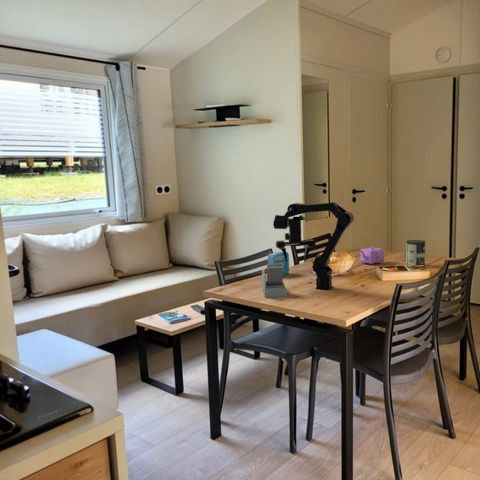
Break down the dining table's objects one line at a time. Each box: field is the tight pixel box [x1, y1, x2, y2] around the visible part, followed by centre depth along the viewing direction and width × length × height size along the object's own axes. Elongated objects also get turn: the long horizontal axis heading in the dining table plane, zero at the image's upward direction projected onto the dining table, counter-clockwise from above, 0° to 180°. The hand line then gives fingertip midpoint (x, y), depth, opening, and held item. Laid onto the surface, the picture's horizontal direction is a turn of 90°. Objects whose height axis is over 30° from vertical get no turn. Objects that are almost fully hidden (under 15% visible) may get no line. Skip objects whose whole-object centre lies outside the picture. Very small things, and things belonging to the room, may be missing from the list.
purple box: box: [359, 245, 385, 265], centre depth 303 cm, size 18×14×10 cm
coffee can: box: [405, 239, 426, 266], centre depth 291 cm, size 10×10×14 cm
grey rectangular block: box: [266, 264, 284, 286], centre depth 241 cm, size 7×3×12 cm, turn 92°
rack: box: [261, 267, 288, 298], centre depth 241 cm, size 10×16×12 cm, turn 1°
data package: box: [267, 251, 290, 276], centre depth 281 cm, size 12×4×12 cm, turn 133°
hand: (295, 261), depth 252 cm, fingers open, 9 cm apart
